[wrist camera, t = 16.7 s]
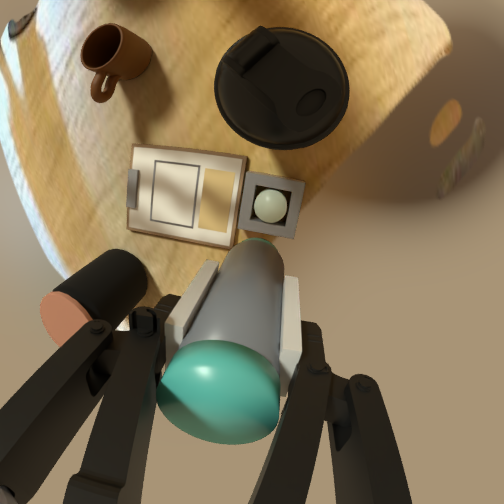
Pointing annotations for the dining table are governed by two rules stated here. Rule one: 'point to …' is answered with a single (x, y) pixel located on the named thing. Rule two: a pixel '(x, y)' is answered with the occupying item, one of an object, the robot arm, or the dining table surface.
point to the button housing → (276, 182)
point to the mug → (113, 58)
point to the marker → (231, 353)
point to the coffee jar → (94, 295)
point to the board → (185, 193)
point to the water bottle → (281, 88)
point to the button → (270, 205)
